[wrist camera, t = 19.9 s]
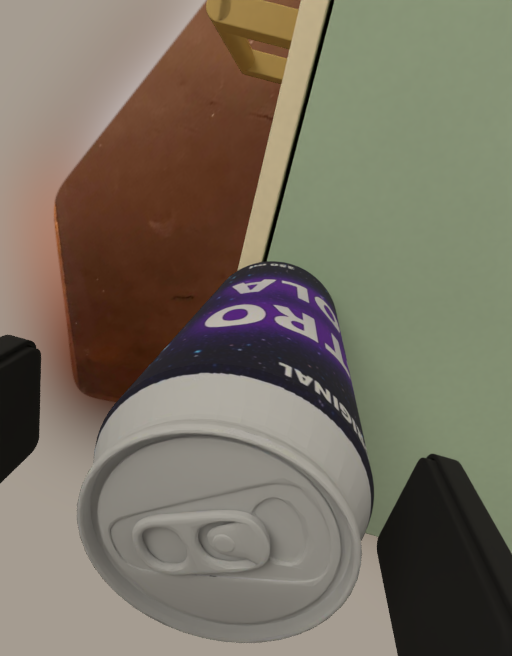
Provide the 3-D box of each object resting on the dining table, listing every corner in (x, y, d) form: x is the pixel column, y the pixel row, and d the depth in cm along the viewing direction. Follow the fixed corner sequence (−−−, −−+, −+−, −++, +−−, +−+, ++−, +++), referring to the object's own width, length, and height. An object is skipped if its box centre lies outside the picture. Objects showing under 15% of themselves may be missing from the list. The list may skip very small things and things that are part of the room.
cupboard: (259, 333, 44) (208, 486, 22) (328, 80, 34) (367, -128, 12) (406, 375, 44) (511, 577, 21) (519, 129, 34) (950, 10, 11)
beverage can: (344, 362, 18) (406, 658, 7) (232, 379, 19) (121, 656, 8) (323, 244, 16) (359, 376, 5) (200, 272, 17) (-4, 430, 6)
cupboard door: (203, 318, 44) (96, 451, 22) (257, 61, 34) (162, -173, 12) (257, 333, 44) (204, 483, 22) (326, 79, 34) (361, -125, 12)
